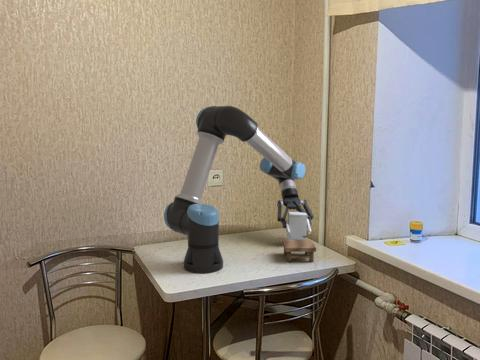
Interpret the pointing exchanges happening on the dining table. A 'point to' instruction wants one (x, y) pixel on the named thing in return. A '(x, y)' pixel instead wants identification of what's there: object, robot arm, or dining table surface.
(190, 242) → the robot arm
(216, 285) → the dining table surface
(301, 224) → the skincare box
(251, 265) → the dining table surface
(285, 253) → the stool
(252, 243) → the dining table surface
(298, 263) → the dining table surface
